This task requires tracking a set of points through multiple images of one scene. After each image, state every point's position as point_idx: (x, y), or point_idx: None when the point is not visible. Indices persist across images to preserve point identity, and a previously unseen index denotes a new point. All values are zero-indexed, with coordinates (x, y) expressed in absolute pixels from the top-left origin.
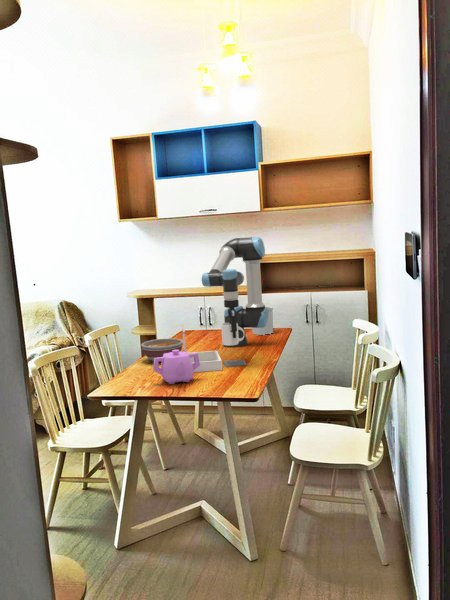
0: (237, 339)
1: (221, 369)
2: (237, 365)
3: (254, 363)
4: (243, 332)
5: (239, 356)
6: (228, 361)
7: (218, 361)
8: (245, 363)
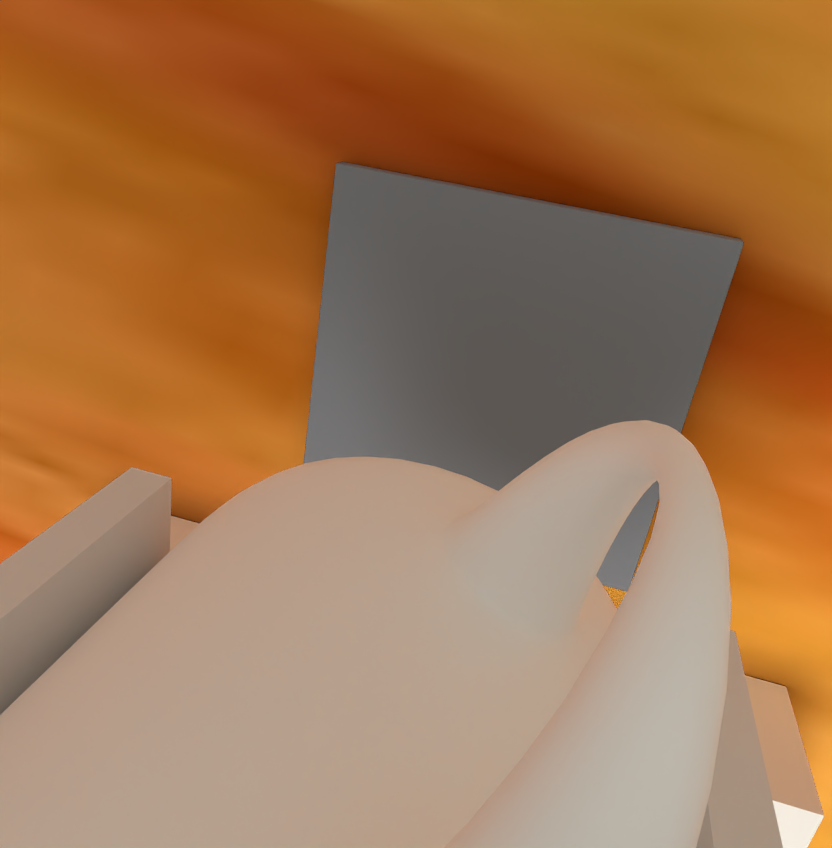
0: (580, 637)
1: (783, 701)
2: (685, 407)
3: (683, 29)
4: (713, 591)
5: (10, 126)
6: (355, 446)
7: (799, 843)
8: (670, 241)
